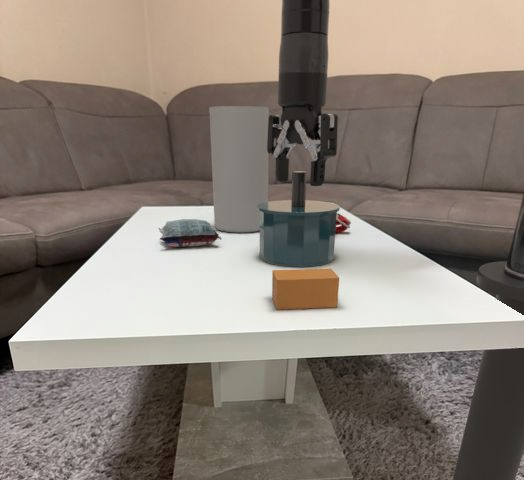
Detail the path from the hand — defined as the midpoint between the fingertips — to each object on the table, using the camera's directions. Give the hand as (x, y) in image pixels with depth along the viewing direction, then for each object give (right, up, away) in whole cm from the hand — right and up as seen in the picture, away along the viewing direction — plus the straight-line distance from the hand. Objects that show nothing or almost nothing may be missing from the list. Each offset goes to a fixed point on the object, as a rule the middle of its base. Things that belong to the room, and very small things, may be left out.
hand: (298, 183), depth 77 cm
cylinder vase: (-11, 0, +30) cm, 32 cm away
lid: (0, -4, +2) cm, 4 cm away
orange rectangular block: (-1, -22, -16) cm, 27 cm away
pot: (0, -11, +5) cm, 13 cm away
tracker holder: (+7, -3, +23) cm, 25 cm away
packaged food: (-21, -7, +15) cm, 26 cm away
